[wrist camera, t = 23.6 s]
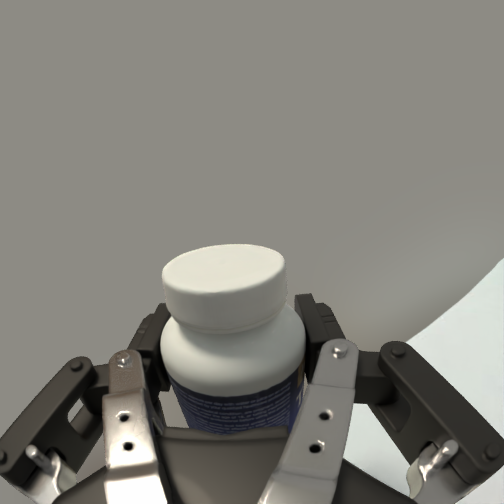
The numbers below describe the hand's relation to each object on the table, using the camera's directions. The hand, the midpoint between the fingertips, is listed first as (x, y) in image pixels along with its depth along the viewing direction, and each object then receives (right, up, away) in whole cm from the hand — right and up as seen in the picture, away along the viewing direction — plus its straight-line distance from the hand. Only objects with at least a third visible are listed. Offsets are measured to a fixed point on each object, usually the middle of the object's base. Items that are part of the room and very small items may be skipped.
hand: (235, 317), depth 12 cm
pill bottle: (+1, -7, 0) cm, 7 cm away
